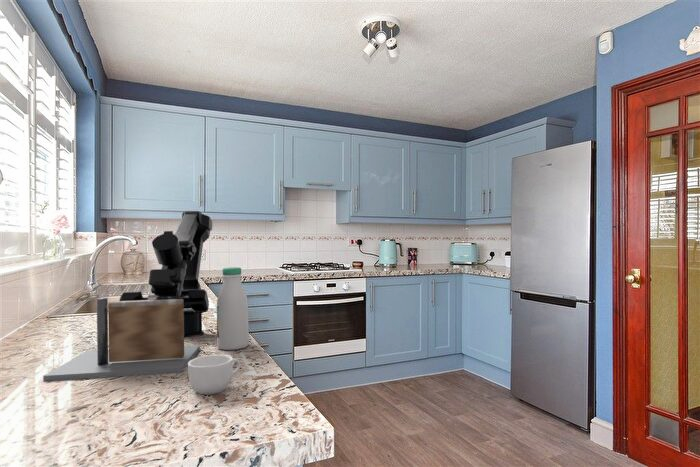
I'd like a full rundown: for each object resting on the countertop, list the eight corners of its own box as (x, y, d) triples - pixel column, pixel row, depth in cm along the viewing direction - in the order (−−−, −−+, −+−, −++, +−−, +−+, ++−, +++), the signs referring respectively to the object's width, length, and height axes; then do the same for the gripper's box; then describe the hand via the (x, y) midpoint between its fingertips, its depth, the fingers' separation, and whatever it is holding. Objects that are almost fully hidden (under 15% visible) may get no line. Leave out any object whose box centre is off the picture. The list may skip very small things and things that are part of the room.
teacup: (201, 402, 70) (201, 370, 70) (180, 391, 75) (179, 361, 75) (251, 385, 78) (251, 356, 78) (229, 376, 83) (228, 349, 83)
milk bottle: (255, 344, 107) (253, 266, 107) (234, 352, 100) (233, 269, 100) (231, 341, 111) (230, 266, 111) (210, 349, 104) (209, 268, 104)
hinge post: (107, 361, 91) (106, 297, 91) (109, 364, 89) (108, 298, 89) (96, 363, 89) (96, 298, 89) (98, 365, 88) (97, 299, 88)
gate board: (200, 349, 104) (199, 345, 104) (181, 372, 86) (181, 367, 86) (87, 355, 100) (87, 351, 100) (43, 380, 82) (43, 375, 82)
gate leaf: (108, 362, 89) (108, 302, 89) (112, 360, 90) (111, 301, 90) (182, 358, 91) (181, 299, 91) (184, 356, 92) (183, 298, 92)
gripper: (122, 257, 96) (101, 313, 85) (206, 255, 99) (196, 309, 88) (134, 287, 104) (117, 342, 93) (212, 285, 107) (204, 338, 96)
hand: (158, 332), depth 92 cm, fingers closed
